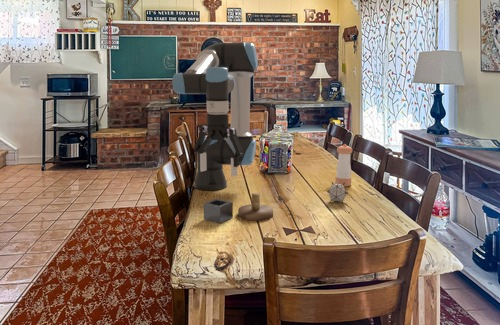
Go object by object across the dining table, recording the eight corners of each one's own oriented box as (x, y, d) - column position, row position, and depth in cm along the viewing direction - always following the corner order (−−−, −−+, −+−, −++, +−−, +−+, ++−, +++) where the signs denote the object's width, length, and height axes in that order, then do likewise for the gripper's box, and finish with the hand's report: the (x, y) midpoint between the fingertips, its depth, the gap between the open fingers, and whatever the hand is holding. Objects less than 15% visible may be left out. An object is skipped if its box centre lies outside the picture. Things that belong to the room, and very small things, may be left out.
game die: (331, 209, 177) (320, 188, 179) (349, 201, 178) (338, 180, 180) (336, 205, 168) (324, 182, 171) (355, 196, 169) (343, 174, 172)
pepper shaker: (348, 187, 196) (350, 146, 192) (332, 185, 200) (334, 144, 196) (353, 183, 202) (355, 143, 198) (338, 181, 206) (340, 142, 202)
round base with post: (231, 216, 157) (231, 195, 156) (250, 207, 168) (250, 187, 166) (261, 223, 150) (261, 201, 149) (279, 213, 161) (279, 192, 159)
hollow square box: (203, 219, 154) (203, 203, 153) (216, 213, 160) (216, 198, 159) (220, 223, 150) (220, 207, 149) (232, 217, 156) (232, 201, 155)
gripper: (182, 112, 151) (184, 170, 155) (241, 116, 137) (241, 180, 142) (196, 110, 157) (198, 167, 161) (254, 114, 143) (253, 175, 148)
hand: (218, 173), depth 151 cm, fingers open, 13 cm apart
